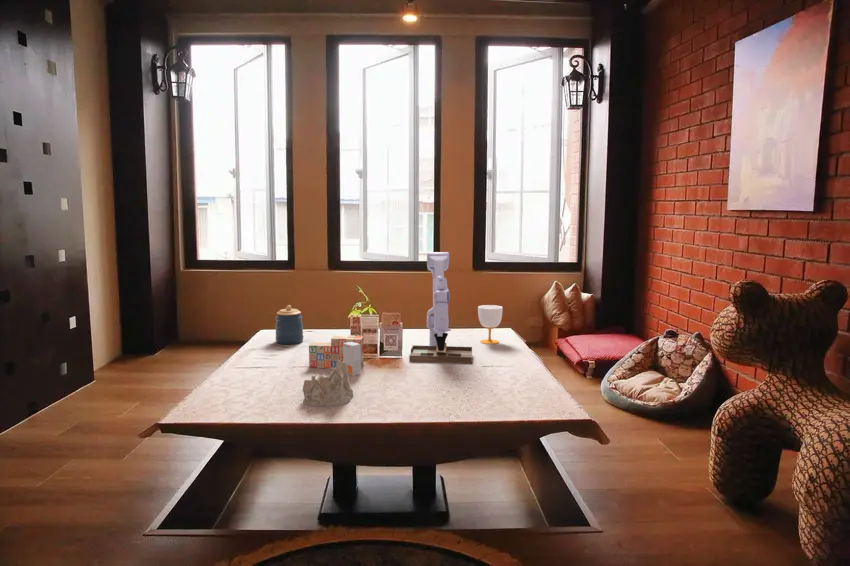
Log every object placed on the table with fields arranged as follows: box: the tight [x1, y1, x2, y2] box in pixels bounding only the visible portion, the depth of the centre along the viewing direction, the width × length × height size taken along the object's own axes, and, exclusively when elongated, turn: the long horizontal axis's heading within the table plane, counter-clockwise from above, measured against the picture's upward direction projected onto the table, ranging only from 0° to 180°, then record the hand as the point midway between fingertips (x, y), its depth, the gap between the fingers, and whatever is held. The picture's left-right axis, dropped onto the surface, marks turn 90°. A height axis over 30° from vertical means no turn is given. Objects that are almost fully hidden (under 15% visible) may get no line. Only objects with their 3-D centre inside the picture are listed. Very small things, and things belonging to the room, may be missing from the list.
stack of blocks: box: [308, 334, 365, 369], centre depth 246 cm, size 21×6×12 cm, turn 86°
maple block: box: [436, 342, 447, 353], centre depth 258 cm, size 4×4×4 cm
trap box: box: [408, 344, 473, 364], centre depth 259 cm, size 12×26×4 cm, turn 85°
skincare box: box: [343, 342, 362, 377], centre depth 236 cm, size 6×4×12 cm
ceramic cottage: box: [302, 360, 354, 408], centre depth 205 cm, size 16×16×15 cm
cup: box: [477, 304, 504, 345], centre depth 290 cm, size 12×12×17 cm
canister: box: [274, 304, 304, 345], centre depth 289 cm, size 13×13×18 cm
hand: (441, 350), depth 256 cm, fingers closed, pressing on maple block
